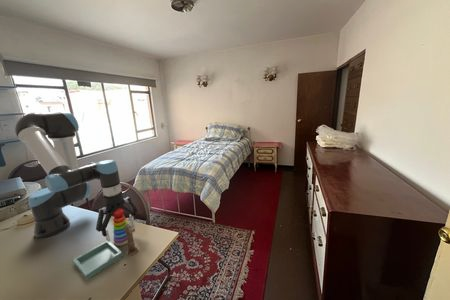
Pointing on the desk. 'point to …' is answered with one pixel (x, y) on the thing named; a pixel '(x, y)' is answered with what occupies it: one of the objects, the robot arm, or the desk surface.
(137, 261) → the desk surface
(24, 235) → the desk surface
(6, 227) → the desk surface
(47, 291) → the desk surface
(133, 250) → the tan tall figure
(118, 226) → the stacking toy
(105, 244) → the tray
